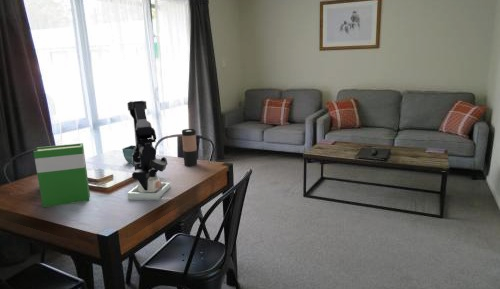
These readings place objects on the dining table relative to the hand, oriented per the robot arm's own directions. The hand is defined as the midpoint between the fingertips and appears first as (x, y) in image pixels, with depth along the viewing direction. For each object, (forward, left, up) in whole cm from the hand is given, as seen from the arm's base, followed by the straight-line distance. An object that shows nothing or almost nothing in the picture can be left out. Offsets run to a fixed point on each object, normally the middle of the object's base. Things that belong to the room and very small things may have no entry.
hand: (149, 187), depth 160 cm
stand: (-3, +14, -3) cm, 15 cm away
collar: (0, 0, -1) cm, 1 cm away
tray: (0, 0, -3) cm, 3 cm away
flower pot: (-30, +47, -3) cm, 56 cm away
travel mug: (+5, +45, -3) cm, 45 cm away
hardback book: (-33, -11, -3) cm, 35 cm away
